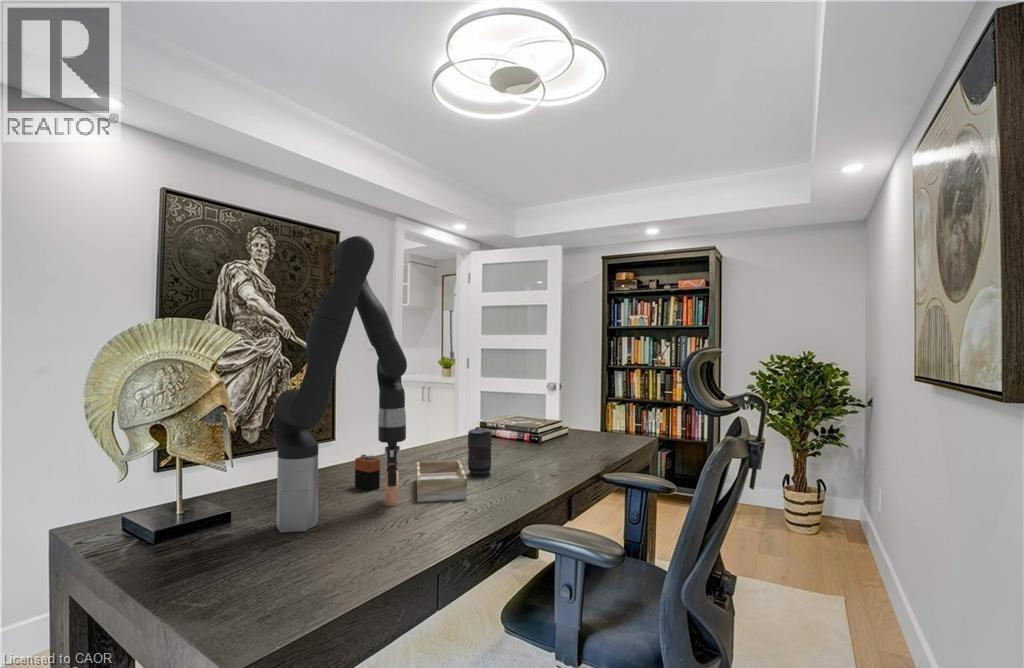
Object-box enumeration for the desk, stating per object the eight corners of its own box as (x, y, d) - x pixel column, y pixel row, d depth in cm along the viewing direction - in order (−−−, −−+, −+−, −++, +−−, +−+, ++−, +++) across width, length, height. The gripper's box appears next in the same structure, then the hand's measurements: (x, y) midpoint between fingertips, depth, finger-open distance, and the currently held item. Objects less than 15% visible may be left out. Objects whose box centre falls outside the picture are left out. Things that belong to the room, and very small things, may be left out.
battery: (369, 491, 154) (369, 458, 154) (354, 487, 158) (354, 455, 158) (380, 488, 158) (380, 455, 158) (365, 484, 161) (365, 452, 161)
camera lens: (462, 475, 173) (463, 430, 173) (477, 470, 180) (477, 427, 180) (481, 479, 169) (481, 433, 169) (496, 474, 175) (496, 430, 175)
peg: (398, 506, 141) (398, 473, 141) (384, 506, 140) (385, 473, 140) (398, 501, 145) (398, 469, 145) (385, 502, 144) (385, 470, 144)
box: (466, 499, 147) (466, 478, 147) (417, 501, 145) (417, 480, 145) (459, 478, 169) (460, 460, 169) (416, 480, 166) (416, 461, 166)
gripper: (406, 427, 137) (406, 488, 137) (405, 418, 151) (406, 473, 151) (377, 429, 135) (377, 490, 135) (379, 419, 149) (379, 475, 149)
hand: (392, 481), depth 143 cm, fingers open, 8 cm apart
